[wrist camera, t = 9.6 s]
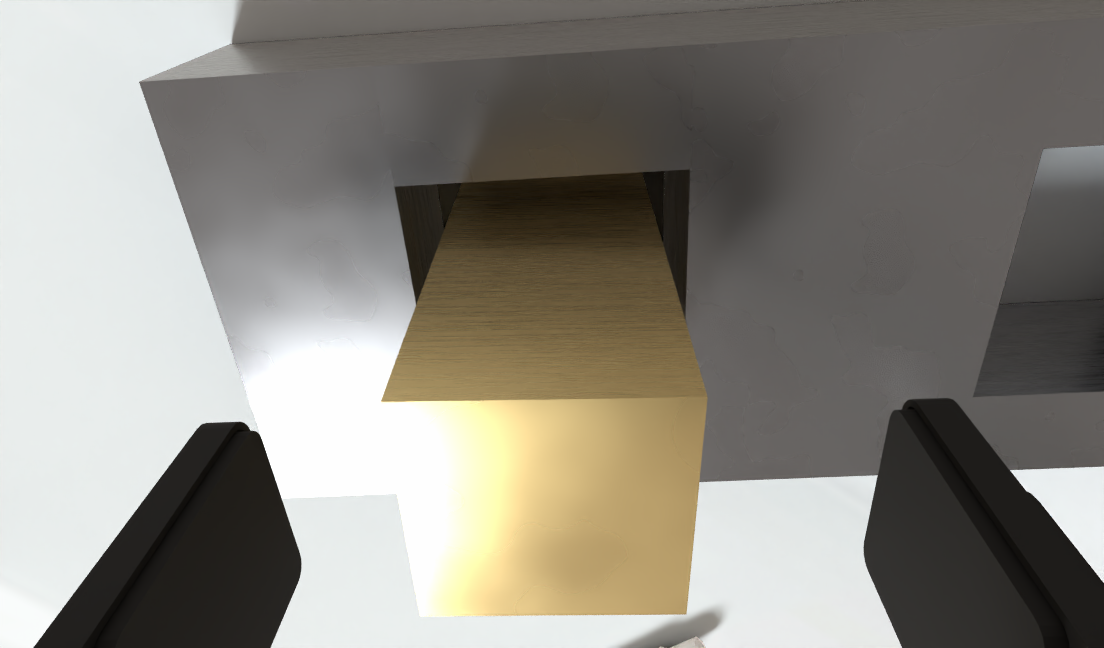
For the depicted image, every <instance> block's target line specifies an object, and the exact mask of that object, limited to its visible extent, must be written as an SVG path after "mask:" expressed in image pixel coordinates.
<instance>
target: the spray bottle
mask: <svg viewBox="0 0 1104 648" xmlns="http://www.w3.org/2000/svg"><path fill="white" fill-rule="evenodd" d="M659 648H665V647H659ZM670 648H706V647H705V646H704V644H703V642H702V641H701V640H700V639H699V638H698V637H693V638H691V639H689V640H686V641H684V642H682V643H680V644H677V645H675V646H673V647H670Z"/></svg>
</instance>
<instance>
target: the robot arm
mask: <svg viewBox="0 0 1104 648" xmlns="http://www.w3.org/2000/svg"><path fill="white" fill-rule="evenodd" d="M864 558H865V563H866V566H867V569H868V572H869V574H870V576H871V578H872V581H873V583H874V585H875V587H876V590H877V592H878V594H879V596H880V599H881V601H882V603H883V605H884V608H885V610H886V612H887V614H888V617H889V619H890V621H891V623H892V626H893V628H894V630H895V632H896V635H897V637H898V639H899V641H900V644H901V646H902V648H1104V583H1103V582H1102V580H1101V579H1100V578H1099V577H1098V575H1097V574H1096V573H1095V572H1094V570H1093V569H1092V568H1091V566H1090V565H1089V564H1088V563H1087V561H1086V560H1085V559H1084V558H1083V556H1082V555H1081V554H1080V553H1079V551H1078V550H1077V549H1076V547H1075V546H1074V545H1073V544H1072V542H1071V541H1070V540H1069V539H1068V537H1067V536H1066V535H1065V534H1064V532H1063V531H1062V530H1061V529H1060V527H1059V526H1058V525H1057V523H1056V522H1055V521H1054V520H1053V518H1052V517H1051V516H1050V515H1049V513H1048V512H1047V511H1046V510H1045V508H1044V507H1043V506H1042V504H1041V503H1040V502H1039V501H1038V500H1037V499H1036V498H1035V497H1034V496H1033V495H1032V494H1031V493H1029V492H1027V491H1026V490H1025V489H1024V488H1023V487H1022V485H1021V484H1020V483H1019V481H1018V480H1017V479H1016V478H1015V476H1014V475H1013V474H1012V473H1011V471H1010V470H1009V469H1008V467H1007V466H1006V465H1005V464H1004V462H1003V461H1002V460H1001V458H1000V457H999V456H998V455H997V453H996V452H995V451H994V450H993V448H992V447H991V446H990V444H989V443H988V442H987V441H986V439H985V438H984V437H983V435H982V434H981V433H980V432H979V430H978V429H977V428H976V426H975V425H974V424H973V423H972V421H971V420H970V419H969V418H968V416H967V415H966V414H965V412H964V411H963V410H962V409H961V407H960V406H959V405H958V404H957V403H956V402H955V401H954V400H953V399H950V398H932V399H909V400H907V401H906V402H905V403H904V405H903V407H902V410H894V411H893V412H892V413H891V415H890V419H889V423H888V428H887V433H886V438H885V443H884V448H883V453H882V458H881V462H880V467H879V472H878V477H877V482H876V487H875V492H874V497H873V501H872V506H871V511H870V516H869V521H868V526H867V531H866V536H865V540H864ZM300 574H301V556H300V553H299V550H298V547H297V544H296V541H295V538H294V535H293V532H292V529H291V526H290V523H289V520H288V517H287V514H286V511H285V508H284V505H283V502H282V499H281V496H280V493H279V490H278V487H277V484H276V481H275V478H274V475H273V472H272V469H271V466H270V463H269V460H268V457H267V454H266V451H265V448H264V445H263V442H262V439H261V437H260V435H259V434H258V433H257V432H256V431H250V429H249V427H248V426H247V425H246V424H245V423H243V422H222V423H205V424H202V425H201V426H200V427H199V428H198V429H197V430H196V431H195V433H194V434H193V435H192V437H191V438H190V439H189V441H188V442H187V443H186V445H185V446H184V447H183V449H182V450H181V451H180V453H179V454H178V455H177V457H176V458H175V459H174V461H173V462H172V463H171V465H170V466H169V467H168V469H167V470H166V471H165V473H164V474H163V475H162V477H161V478H160V479H159V481H158V482H157V483H156V485H155V486H154V487H153V489H152V490H151V491H150V493H149V494H148V495H147V497H146V498H145V499H144V501H143V502H142V503H141V505H140V506H139V507H138V509H137V510H136V511H135V513H134V514H133V515H132V517H131V518H130V519H129V521H128V522H127V523H126V525H125V526H124V527H123V529H122V530H121V531H120V533H119V534H118V535H117V537H116V538H115V539H114V541H113V542H112V543H111V545H110V546H109V547H108V549H107V550H106V551H105V553H104V554H103V555H102V557H101V558H100V559H99V561H98V562H97V563H96V565H95V566H94V567H93V569H92V570H91V571H90V573H89V574H88V575H87V577H86V578H85V579H84V581H83V582H82V583H81V585H80V586H79V587H78V589H77V590H76V591H75V593H74V594H73V595H72V597H71V598H70V599H69V601H68V602H67V603H66V605H65V606H64V608H63V609H62V610H61V612H60V613H59V614H58V616H57V617H56V618H55V620H54V621H53V622H52V624H51V625H50V626H49V628H48V629H47V630H46V632H45V633H44V634H43V636H42V637H41V638H40V640H39V641H38V642H37V644H36V645H35V646H34V648H270V647H271V645H272V643H273V640H274V638H275V636H276V633H277V631H278V628H279V626H280V624H281V621H282V619H283V617H284V614H285V612H286V610H287V607H288V605H289V602H290V600H291V598H292V595H293V593H294V591H295V588H296V586H297V584H298V581H299V578H300Z"/></svg>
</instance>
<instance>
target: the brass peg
mask: <svg viewBox="0 0 1104 648" xmlns="http://www.w3.org/2000/svg"><path fill="white" fill-rule="evenodd" d="M707 399H708V397H707V393H706V390H705V386H704V383H703V379H702V376H701V373H700V369H699V366H698V362H697V359H696V355H695V352H694V349H693V345H692V342H691V338H690V335H689V331H688V328H687V325H686V321H685V318H684V314H683V311H682V307H681V304H680V301H679V297H678V294H677V290H676V287H675V283H674V280H673V277H672V273H671V270H670V266H669V263H668V259H667V256H666V253H665V249H664V246H663V242H662V239H661V235H660V232H659V229H658V225H657V222H656V218H655V215H654V211H653V208H652V204H651V201H650V198H649V194H648V191H647V187H646V184H645V180H644V177H643V174H642V172H636V173H619V174H602V175H585V176H568V177H551V178H534V179H517V180H500V181H483V182H466V183H461V186H460V188H459V191H458V194H457V196H456V199H455V202H454V205H453V207H452V210H451V213H450V215H449V218H448V221H447V223H446V226H445V229H444V232H443V234H442V237H441V240H440V242H439V245H438V248H437V250H436V253H435V256H434V259H433V261H432V264H431V267H430V269H429V272H428V275H427V277H426V280H425V283H424V285H423V288H422V291H421V294H420V296H419V299H418V302H417V304H416V307H415V310H414V312H413V315H412V318H411V321H410V323H409V326H408V329H407V331H406V334H405V337H404V339H403V342H402V345H401V348H400V350H399V353H398V356H397V358H396V361H395V364H394V366H393V369H392V372H391V374H390V377H389V380H388V383H387V385H386V388H385V391H384V393H383V396H382V399H381V401H380V403H381V409H382V414H383V419H384V425H385V430H386V436H387V441H388V446H389V452H390V457H391V462H392V468H393V473H394V478H395V484H396V489H397V495H398V500H399V505H400V511H401V516H402V521H403V527H404V532H405V537H406V543H407V548H408V553H409V559H410V564H411V570H412V575H413V580H414V586H415V591H416V596H417V602H418V607H419V612H420V616H516V615H662V614H686V612H687V602H688V592H689V582H690V572H691V561H692V551H693V541H694V531H695V521H696V510H697V500H698V490H699V480H700V470H701V460H702V449H703V439H704V429H705V419H706V409H707Z"/></svg>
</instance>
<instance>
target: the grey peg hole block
mask: <svg viewBox="0 0 1104 648" xmlns="http://www.w3.org/2000/svg"><path fill="white" fill-rule="evenodd" d="M139 83H140V86H141V89H142V91H143V94H144V97H145V100H146V103H147V106H148V109H149V112H150V115H151V118H152V120H153V123H154V126H155V129H156V132H157V135H158V138H159V141H160V144H161V147H162V149H163V152H164V155H165V158H166V161H167V164H168V167H169V170H170V173H171V176H172V178H173V181H174V184H175V187H176V190H177V193H178V196H179V199H180V202H181V205H182V207H183V210H184V213H185V216H186V219H187V222H188V225H189V228H190V231H191V234H192V236H193V239H194V242H195V245H196V248H197V251H198V254H199V257H200V260H201V263H202V266H203V268H204V271H205V274H206V277H207V280H208V283H209V286H210V289H211V292H212V295H213V297H214V300H215V303H216V306H217V309H218V312H219V315H220V318H221V321H222V324H223V326H224V329H225V332H226V335H227V338H228V341H229V344H230V347H231V350H232V353H233V355H234V358H235V361H236V364H237V367H238V370H239V373H240V376H241V379H242V382H243V384H244V387H245V390H246V393H247V396H248V399H249V402H250V405H251V408H252V411H253V413H254V416H255V419H256V422H257V425H258V428H259V431H260V434H261V437H262V440H263V442H264V445H265V448H266V451H267V454H268V457H269V460H270V463H271V466H272V469H273V471H274V474H275V477H276V480H277V483H278V486H279V489H280V492H281V495H282V498H295V497H321V496H347V495H373V494H397V489H396V484H395V478H394V473H393V468H392V462H391V457H390V452H389V446H388V441H387V436H386V430H385V425H384V419H383V414H382V409H381V403H380V401H381V399H382V396H383V393H384V391H385V388H386V385H387V383H388V380H389V377H390V374H391V372H392V369H393V366H394V364H395V361H396V358H397V356H398V353H399V350H400V348H401V345H402V342H403V339H404V337H405V334H406V331H407V329H408V326H409V323H410V321H411V318H412V315H413V312H414V310H415V307H416V304H417V302H418V299H419V296H420V294H421V291H422V288H423V285H424V283H425V280H426V277H427V275H428V272H429V269H430V267H431V264H432V261H433V259H434V256H435V253H436V250H437V248H438V245H439V242H440V240H441V237H442V234H443V232H444V226H443V220H442V213H441V207H440V200H439V193H438V187H437V184H449V183H466V182H483V181H500V180H517V179H534V178H551V177H568V176H585V175H602V174H619V173H636V172H653V171H664V197H663V246H664V249H665V253H666V256H667V259H668V263H669V266H670V270H671V273H672V277H673V280H674V283H675V287H676V290H677V294H678V297H679V301H680V304H681V307H682V311H683V314H684V318H685V321H686V325H687V328H688V331H689V335H690V338H691V342H692V345H693V349H694V352H695V355H696V359H697V362H698V366H699V369H700V373H701V376H702V379H703V383H704V386H705V390H706V393H707V397H708V399H707V409H706V419H705V429H704V439H703V449H702V460H701V470H700V480H699V482H711V481H737V480H763V479H789V478H815V477H841V476H867V475H878V472H879V467H880V462H881V458H882V453H883V448H884V443H885V438H886V433H887V428H888V423H889V419H890V415H891V413H892V412H893V411H894V410H902V407H903V405H904V403H905V402H906V401H907V400H909V399H932V398H950V399H953V400H954V401H955V402H956V403H957V404H958V405H959V406H960V407H961V409H962V410H963V411H964V412H965V414H966V415H967V416H968V418H969V419H970V420H971V421H972V423H973V424H974V425H975V426H976V428H977V429H978V430H979V432H980V433H981V434H982V435H983V437H984V438H985V439H986V441H987V442H988V443H989V444H990V446H991V447H992V448H993V450H994V451H995V452H996V453H997V455H998V456H999V457H1000V458H1001V460H1002V461H1003V462H1004V464H1005V465H1006V466H1007V467H1008V469H1009V470H1023V469H1049V468H1075V467H1101V466H1104V299H1102V300H1081V301H1061V302H1041V303H1020V304H1000V305H999V302H1000V299H1001V295H1002V292H1003V288H1004V285H1005V281H1006V278H1007V274H1008V271H1009V267H1010V264H1011V260H1012V257H1013V253H1014V249H1015V246H1016V242H1017V239H1018V235H1019V232H1020V228H1021V225H1022V221H1023V218H1024V214H1025V211H1026V207H1027V204H1028V200H1029V196H1030V193H1031V189H1032V186H1033V182H1034V179H1035V175H1036V172H1037V168H1038V165H1039V161H1040V158H1041V154H1042V151H1043V149H1044V148H1061V147H1078V146H1095V145H1104V0H864V1H849V2H835V3H820V4H806V5H791V6H777V7H762V8H748V9H733V10H719V11H704V12H690V13H675V14H661V15H646V16H632V17H617V18H603V19H588V20H574V21H559V22H545V23H530V24H516V25H501V26H487V27H472V28H458V29H443V30H429V31H414V32H400V33H385V34H371V35H356V36H342V37H327V38H313V39H298V40H284V41H269V42H255V43H240V44H229V45H227V46H224V47H222V48H220V49H217V50H215V51H212V52H210V53H208V54H205V55H203V56H200V57H198V58H195V59H193V60H191V61H188V62H186V63H183V64H181V65H179V66H176V67H174V68H171V69H169V70H166V71H164V72H162V73H159V74H157V75H154V76H152V77H150V78H147V79H145V80H142V81H140V82H139Z"/></svg>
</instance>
